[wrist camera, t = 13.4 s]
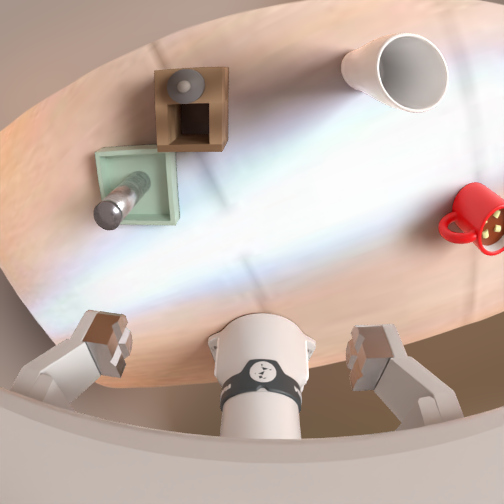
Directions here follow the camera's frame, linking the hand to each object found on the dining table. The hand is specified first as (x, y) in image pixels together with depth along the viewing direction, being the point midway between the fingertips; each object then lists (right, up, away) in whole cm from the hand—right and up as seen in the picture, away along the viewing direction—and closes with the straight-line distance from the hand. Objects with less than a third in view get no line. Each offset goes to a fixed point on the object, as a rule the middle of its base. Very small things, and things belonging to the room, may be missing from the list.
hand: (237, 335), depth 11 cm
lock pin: (-14, +12, +29) cm, 35 cm away
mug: (+32, +9, +30) cm, 45 cm away
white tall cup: (+13, +24, +21) cm, 35 cm away
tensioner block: (-6, +20, +24) cm, 32 cm away
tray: (-14, +12, +30) cm, 35 cm away
